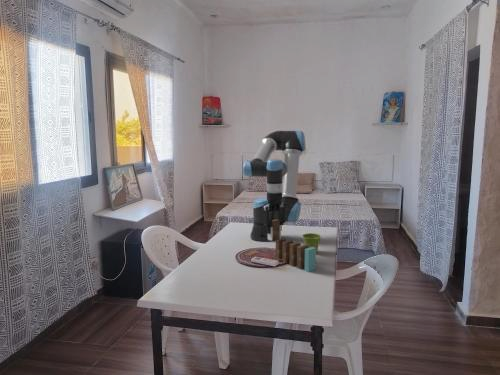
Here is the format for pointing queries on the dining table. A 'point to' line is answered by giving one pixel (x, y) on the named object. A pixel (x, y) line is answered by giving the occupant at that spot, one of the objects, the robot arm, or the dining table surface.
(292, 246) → the domino
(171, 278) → the dining table surface
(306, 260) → the domino
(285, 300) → the dining table surface
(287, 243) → the domino
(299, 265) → the domino
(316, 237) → the plant pot
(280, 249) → the domino
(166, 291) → the dining table surface
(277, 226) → the domino
